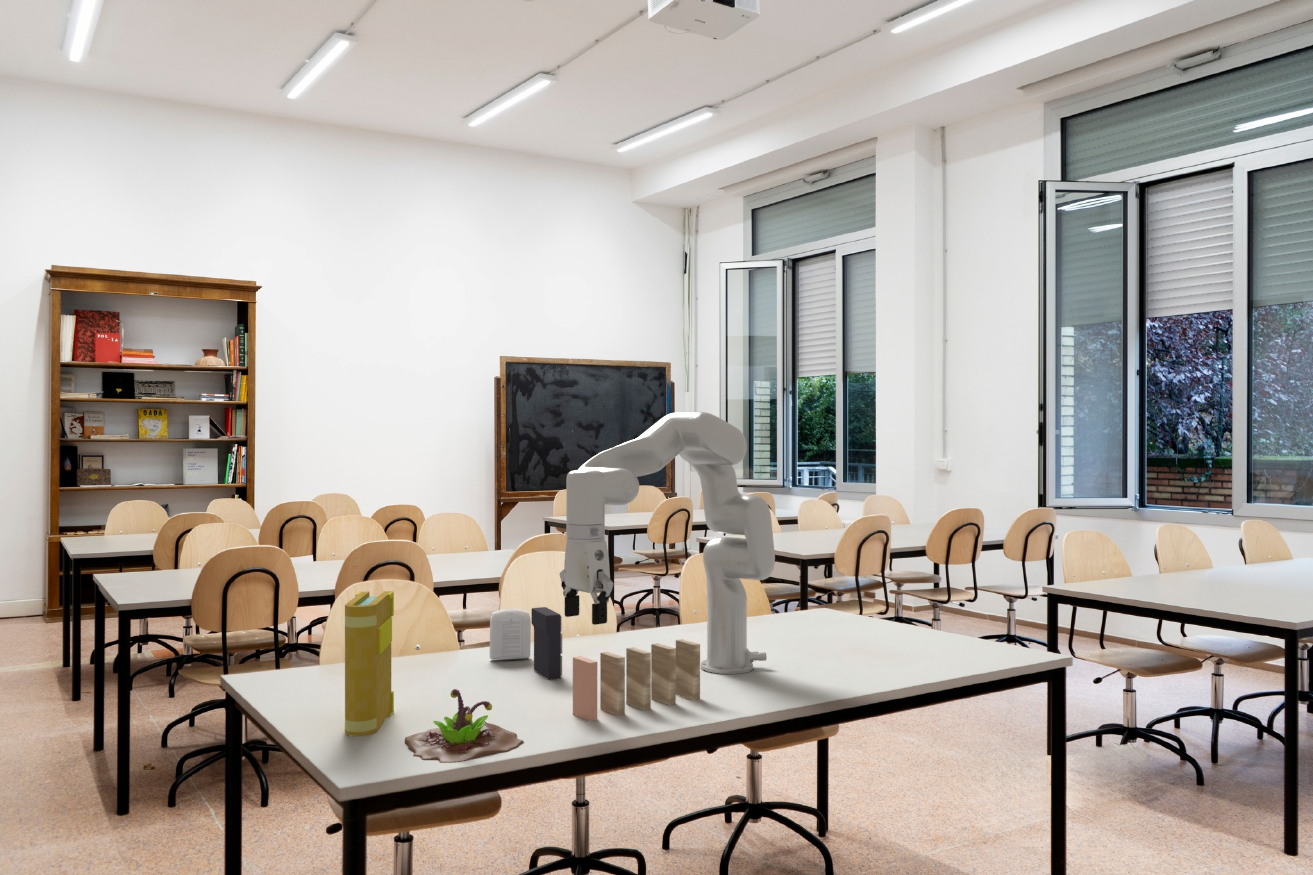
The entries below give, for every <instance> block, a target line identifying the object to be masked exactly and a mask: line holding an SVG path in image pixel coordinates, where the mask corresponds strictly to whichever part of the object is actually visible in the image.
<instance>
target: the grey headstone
mask: <svg viewBox="0 0 1313 875" xmlns="http://www.w3.org/2000/svg"><path fill="white" fill-rule="evenodd" d="M531 627H532V618H531V614H530V612H529V611H528V610H525V609H519V608H504V609H500V610H499V609H498V610H497V611H492V613H491V617H490V620H489V659H491V660H507V659H510V660H511V659H529V658H530V657H531V644H532V642H531V640H532V639H531V638H532V637H531V634H532V632H531Z"/></svg>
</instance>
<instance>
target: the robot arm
mask: <svg viewBox="0 0 1313 875" xmlns="http://www.w3.org/2000/svg"><path fill="white" fill-rule="evenodd" d="M747 449H748V445H747V440H746V437H745V435H744V433H743V432H742V431H741V430H740V429H739V428H738V427H736V426H735V425H733V424H732V423H730V422H727V421H726V420H724V419H722V418H720V417H719V416H717V415H715V414H712V413H710V412H706V411H681V412H680V411H677V412H671V413H668V414H666V415H664V416H663V417H661V418H660V419H659V420H658V421H656V422H655V423H653V425H652V426H650V427H649V428H648V429H646V430H645V431H644V432H642V434H640V435H639V436H638V437H636V438H635V439H631V440H628V441H625V442H623V443H621V444H619V445H616V446H614V447H611V448H609V449H606V450H603V451H601V452H598V454H596V455H594V456H592V457H591V458H590V459H588V460H587V461H586V462H584V463H583V464H582V465H581V466H580V467H579V468H578V469H575V470H571V471H569V472H568V473H567V475H566V484H565V485H566V495H565V496H566V501H565V502H566V512H565V513H566V516H565V517H566V526H565V527H566V528H565V529H566V530H565V531H566V534H565V535H566V539H565V541H566V545H565V549H564V550H565V553H564V564H563V566H564V567H563V568H564V569H562V570H561V571H560V572H559V577H560V582H561V583H560V584H561V587H562V595H563V597H564V616H565V617H566V618H570V617H576V616H577V617H578V616H579V615H580V594H578V593H579V592H583V593H589V594H590V596H591V598H592V600H593V603H591V624H592V625H595V626H596V625H603V624H607V622H608V604H609V602H610V598H611V596H612V590H613V587H614V582H613V580H611V572H610V557H609V549H608V545H607V540H605V539H606V538H605V536H606V532H605V530H606V525H605V522H606V518H605V517H606V515H605V514H606V513H605V511H606V505H607V506H625V505H628V504H629V503H632V502H633V501H634V500H635V499H636V498H637V496H638V493H639V492H640V491H639V490H640V482H639V479H638V477H643V476H647V475H650V474H651V475H652V474H654V473H657V472H659V471H661V470H662V469H663V468H664V467H666V466H667V465H668V464H669V463H670V462H672V461H673V460H674V459H675V458H676V457H677V456H680V457H681V458H682V459H683V460H684V461H685V462H687V463H688V464H689V465H691V467H693V469H694V470H695V471H696V473H697V475H698V477H699V480H700V486H701V495H702V502H703V510H704V511H703V512H704V517H705V523H706V524H705V525H706V526H707V528H708V529H709V530H710V531H712V532H714V533H719V534H727V535H738V536H739V535H740V536H744V538H742V537H732V536H719V537H715V538H712V539H710V540H709V541H708V542H707V543H706V544H705V545H704V548H703V553H702V562H703V567H704V571H705V572H704V573H705V577H706V590H707V591H706V594H707V598H706V600H707V601H706V602H707V603H706V604H707V606H706V607H707V609H706V610H707V612H706V619H707V621H706V622H707V623H706V624H707V625H706V629H707V630H706V631H707V633H706V638H707V639H706V650H707V651H706V659H704V660H702V661H700V670H702V671H704V670H705V671H704V672H708V673H711V672H712V673H713V674H717V673H719V675H740V673H741V674H746V673H749V672H751V671H753V670H754V662H756V661H759V662H761V661H762V662H763V661H764V662H766V661H767V657H768V656H767V652H759V651H750V650H749V648H748V646H747V645H748V643H747V642H748V633H747V632H748V626H747V625H748V623H747V622H748V617H747V616H748V612H747V611H748V598H747V596H748V595H747V592H746V588H745V586H744V584H743V582H742V580H741V579H743V580H751V581H752V580H753V581H764V580H766V579H768V578H769V577H770V576H771V575H772V574H773V572H774V570H775V563H776V561H775V560H776V555H775V554H776V553H775V542H774V532H773V523H772V521H773V520H772V514H771V509H770V507H769V505H768V503H767V501H766V500H765V499H764V498H763V497H761V496H758V495H757V494H742V493H740V491H739V489H738V488H739V486H738V482H737V474H736V471H735V468H734V466H736V465H738V464H740V463H741V462H742V461H743V460H744V459H745V456H746V455H747ZM598 594H599V595H598ZM712 673H711V674H712Z"/></svg>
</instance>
